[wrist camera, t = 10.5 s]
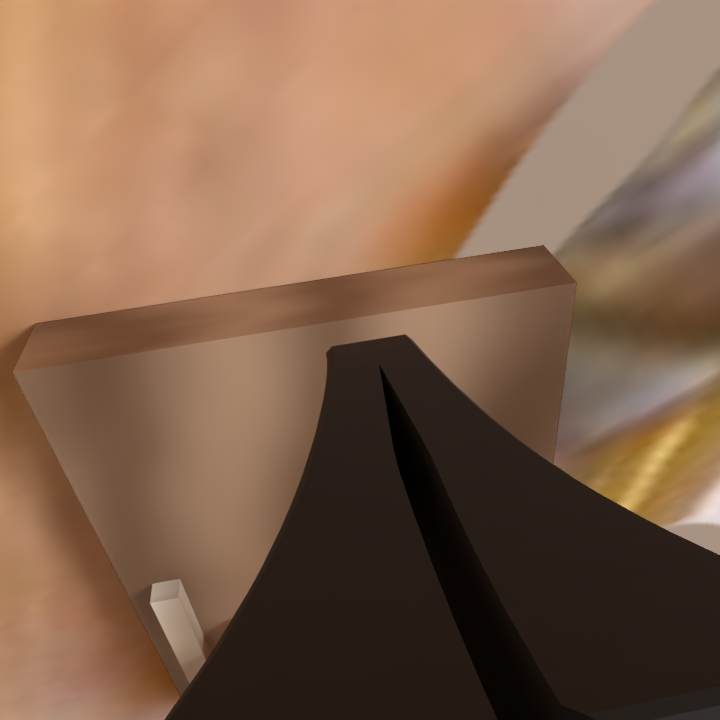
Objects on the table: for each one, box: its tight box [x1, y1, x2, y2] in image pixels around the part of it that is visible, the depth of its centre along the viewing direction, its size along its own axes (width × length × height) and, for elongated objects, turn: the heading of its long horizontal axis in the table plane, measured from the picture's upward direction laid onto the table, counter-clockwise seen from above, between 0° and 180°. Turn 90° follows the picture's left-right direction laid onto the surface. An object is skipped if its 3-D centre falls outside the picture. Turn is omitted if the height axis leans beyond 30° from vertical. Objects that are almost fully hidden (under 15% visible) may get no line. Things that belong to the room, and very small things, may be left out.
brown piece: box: [13, 245, 577, 696], centre depth 25 cm, size 16×22×3 cm
